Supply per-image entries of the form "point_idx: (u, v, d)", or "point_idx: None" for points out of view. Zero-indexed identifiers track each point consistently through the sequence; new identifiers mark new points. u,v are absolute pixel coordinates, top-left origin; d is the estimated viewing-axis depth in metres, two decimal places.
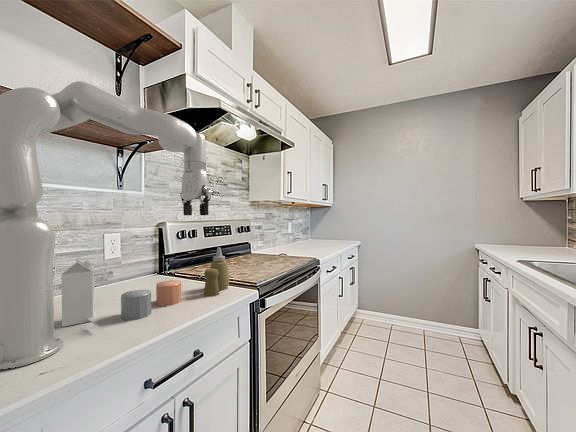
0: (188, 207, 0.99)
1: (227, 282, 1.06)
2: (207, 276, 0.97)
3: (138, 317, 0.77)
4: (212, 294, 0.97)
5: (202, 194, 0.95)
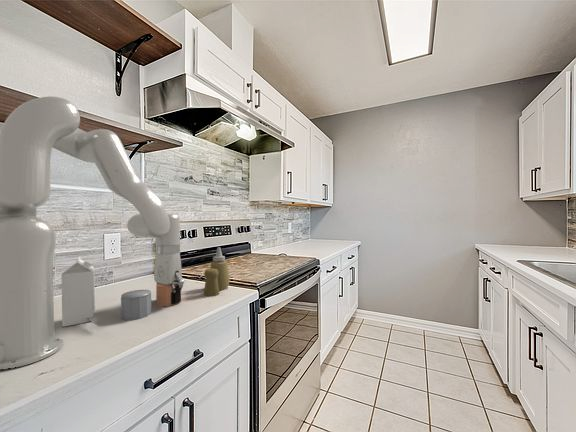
0: None
1: (227, 282, 1.06)
2: (207, 276, 0.97)
3: (138, 317, 0.77)
4: (212, 294, 0.97)
5: (175, 279, 0.90)
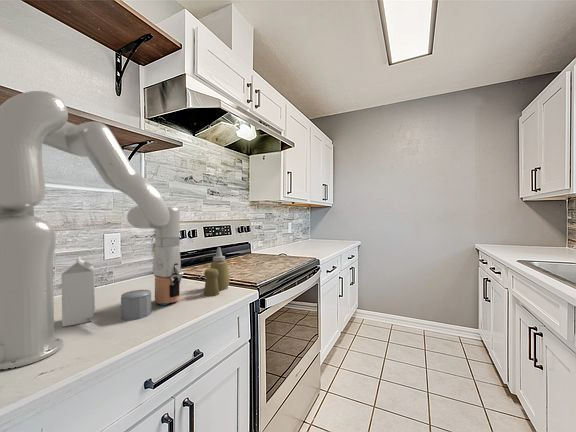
0: None
1: (227, 282, 1.06)
2: (207, 276, 0.97)
3: (138, 317, 0.77)
4: (212, 294, 0.97)
5: (174, 271, 0.89)
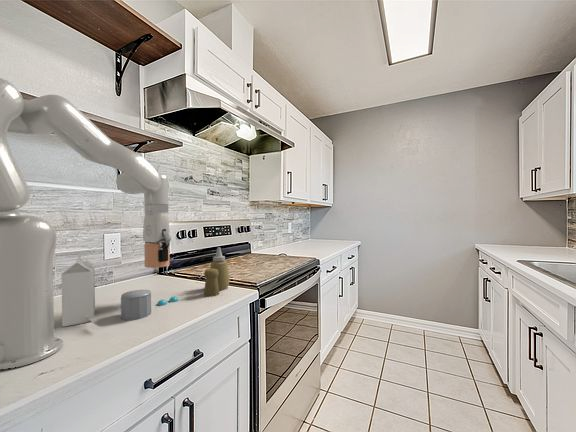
0: None
1: (227, 282, 1.06)
2: (207, 276, 0.97)
3: (138, 317, 0.77)
4: (212, 294, 0.97)
5: (163, 237, 0.91)
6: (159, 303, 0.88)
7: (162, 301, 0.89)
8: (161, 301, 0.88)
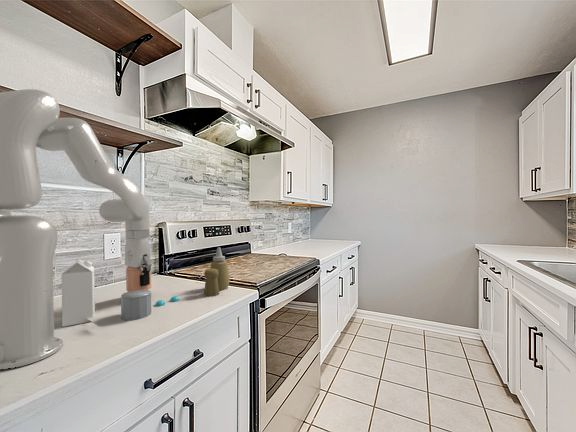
0: None
1: (227, 282, 1.06)
2: (207, 276, 0.97)
3: (138, 317, 0.77)
4: (212, 294, 0.97)
5: (144, 262, 0.94)
6: None
7: (159, 303, 0.88)
8: (158, 303, 0.87)
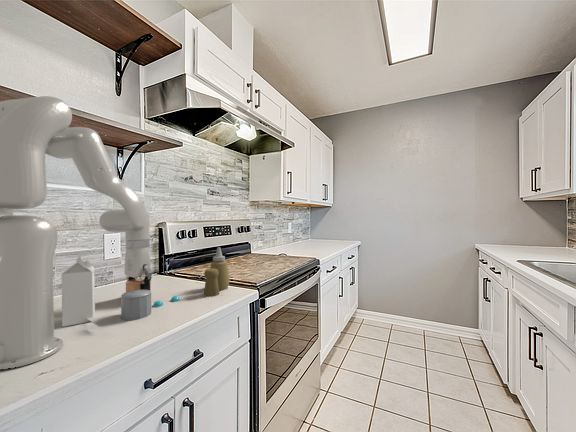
0: None
1: (227, 282, 1.06)
2: (207, 276, 0.97)
3: (138, 317, 0.77)
4: (212, 294, 0.97)
5: (144, 272, 0.94)
6: None
7: (156, 305, 0.87)
8: (155, 306, 0.87)
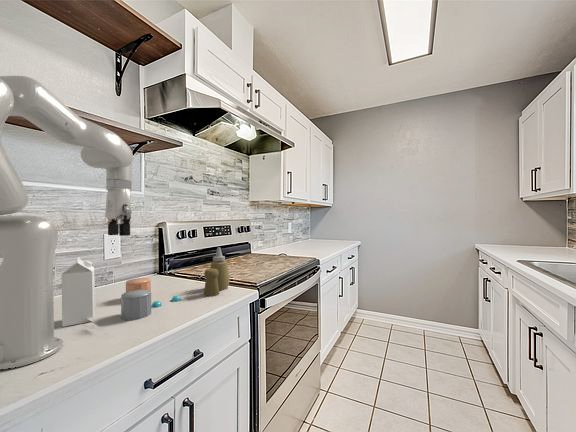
0: (114, 226, 0.96)
1: (227, 282, 1.06)
2: (207, 276, 0.97)
3: (138, 317, 0.77)
4: (212, 294, 0.97)
5: (124, 213, 0.91)
6: None
7: (154, 307, 0.86)
8: None
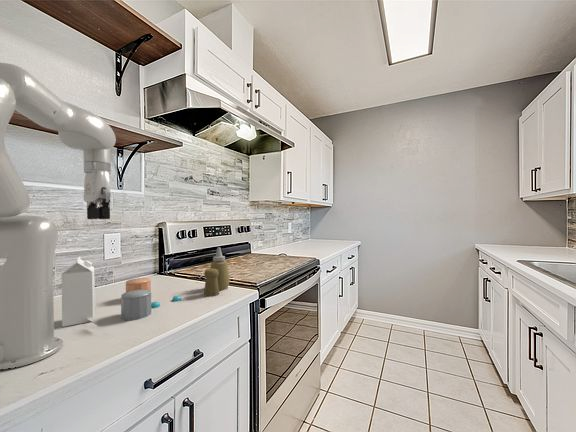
0: (93, 210, 0.93)
1: (227, 282, 1.06)
2: (207, 276, 0.97)
3: (138, 317, 0.77)
4: (212, 294, 0.97)
5: (103, 196, 0.89)
6: None
7: None
8: None
